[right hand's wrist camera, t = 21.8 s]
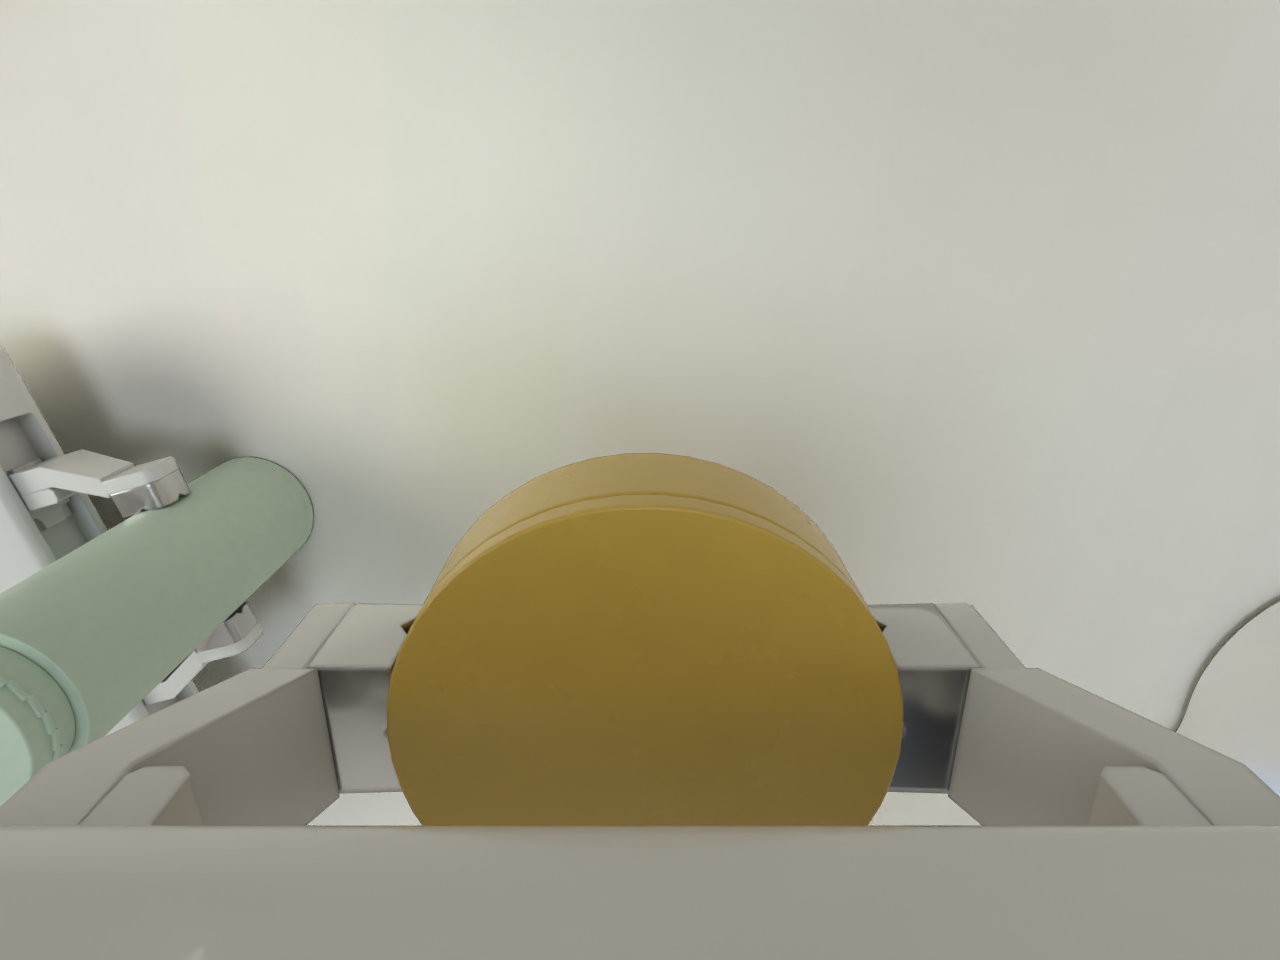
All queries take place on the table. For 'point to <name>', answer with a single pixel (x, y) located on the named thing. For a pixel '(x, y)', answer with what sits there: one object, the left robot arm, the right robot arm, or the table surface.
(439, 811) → the lid
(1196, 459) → the table surface
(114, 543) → the pale green cylinder
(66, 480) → the left robot arm
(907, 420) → the table surface
